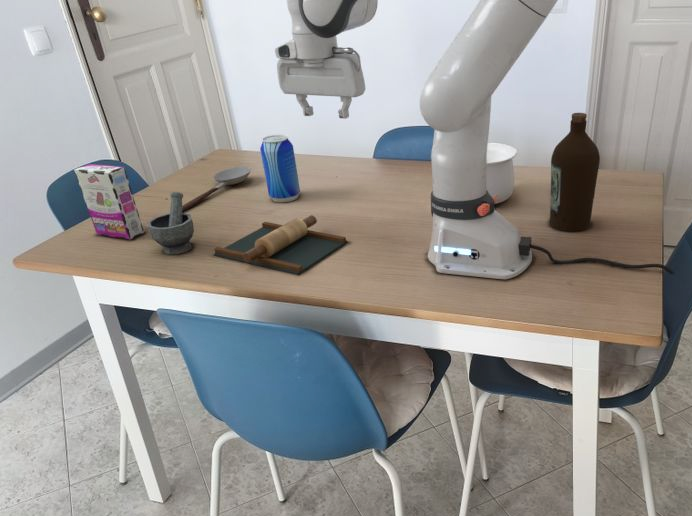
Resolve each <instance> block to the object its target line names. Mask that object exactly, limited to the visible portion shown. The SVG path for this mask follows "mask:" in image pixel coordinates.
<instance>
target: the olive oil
mask: <svg viewBox="0 0 692 516" xmlns="http://www.w3.org/2000/svg"><path fill="white" fill-rule="evenodd" d="M587 115H588V114H587V113H585V112H574V113H572V114H571V120H570V127H569V129H570V130H569V132H568V133H567V134H566V135H565V136H564V137H563V139H562V140H560V141H559V142H558V143H557V145H556V146H555V147H554V149H553V151H552V154H551V159H550V203H549V204H550V205H549V209H550V210H549V224H550V226H551V227H553V228H554V229H555V230H559V231H563V232H580V231H584V230H586V229H588V228H589V227H590V226H591V223H592V222H591V221H592V214H593V206H594V200H595V193H596V186H597V181H598V174H599V169H600V164H601V163H600V162H601V157H600V151H599V148H598V146H597V144H596V143H595V142H594V141H593V139H591V137H590V136H589V134H588V133H587V131H586V130H587V117H588V116H587Z"/></svg>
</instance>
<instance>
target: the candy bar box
mask: <svg viewBox="0 0 692 516" xmlns="http://www.w3.org/2000/svg"><path fill="white" fill-rule="evenodd" d="M73 171H74V173H75V177H76V179H77V182H78V185H79V187H80V190H81V193H82V196H83V197H82V198H83V200H84V202H85V204H86V207H87V211H88V213H89V216H90V218H91V222H92V224H93V227H94V230H95V234H96V235H97V236H101V237H109V238H116V239H122V240H130V241H131V240H133V239H136V238H138V237H139V236H142V235H143V234H144V233H145V229H144V225H143V224H142V220H141V217H140V214H139V210H138V207H137V204H136V200H135V198H134V193H133V191H132V188H131V185H130V181H129V178H128V175H127V171H126V168H125V167H124V166H117V165H116V166H115V165H106V164H105V165H104V164H94V163H89V164H85V165H83V166H80V167H77V168H75V169H73Z"/></svg>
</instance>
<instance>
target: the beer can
mask: <svg viewBox="0 0 692 516" xmlns="http://www.w3.org/2000/svg"><path fill="white" fill-rule="evenodd" d="M259 148H260V155H261V160H262V166H263V171H264V176H265V177H264V178H265V182H266V188H267V192H268V196H269V197H270V198H271V199H272V201H273V202H276V203H288V202H289V203H290V202H293V201H295V200H297V199H298V198H299V195H300V194H301V187H300V182H299V181H300V180H299V175H298V169H297V162H296V157H295V156H296V155H295V151H294V145H293V143H292V142H291V140H290V139H289V136H288V135H286V134H285V135H284V134H273V135H267V136H264V137H263V138H262V139H261V145H260V147H259Z"/></svg>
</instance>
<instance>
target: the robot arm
mask: <svg viewBox="0 0 692 516" xmlns="http://www.w3.org/2000/svg"><path fill="white" fill-rule="evenodd" d="M558 1H559V0H479V1H478V3H477V4H476V6H475V8H474V9H473V11H472V12H471V14H470V15H469V17H468V18H467V20H466V21H465V22H464V24H463V25H462V27H461V28H460V30H459V31H458V33H457V34H456V35H455V37H454V38H453V40H452V41H451V43H450V44H449V46H448V47H447V49H446V50H445V51H444V52H443V54H442V55H441V57H440V59H439V60H438V62H437V63H436V65H435V66H434V68H433V69H432V71H431V72H430V74H429V75H428V77H427V78H426V80H425V81H424V84H423V86H422V89H421V92H420V96H419V110H420V113H421V116H422V118H423V120H424V121H425V123H426V124H427V125H428V126H429V127H431V128H432V129H433V130H434V131H433V140H432V141H433V142H432V148H431V152H430V162H431V163H430V164H431V182H432V184H431V187H432V188H431V189H432V190H431V192H430V212H431V216H432V225H431V226H432V229H431V235H430V236H431V237H430V244H429V248H428V252H427V259H428V261H429V262H430V263H431V264H433V265H434V266H435V270H436V272H438V273H439V274H448V275H457V276H465V277H476V278H478V277H479V278H485V279H486V278H487V279H495V280H510V279H512V278H515V277H517V276H519V275H521V274H522V273H523V272H524V271H526V269H528V267H529V266H530V265H531V263H532V261H533V253H532V249H533V250H537V251H540V252H542V253H544V254H545V255H547V257H548V259H549V261H550V262H551V263H553V264H556V265H567V264H578V263H582V262H595V263H601V264H607V265H611V266H615V267H620V268H624V269H635V270H637V269H649V268H658V269H662V270H665V271H666V272H668V273H669V274H670V275H675V272H674V270H673V269H672V268H670V267H669V266H668V265H665V264H662V263H644V264H643V263H642V264H629V263H623V262H618V261H613V260H609V259H604V258H599V257H598V258H597V257H581V258H575V259H571V260H558V259H555V258H554V257H553V255H552V253H551V252H550V251H549V250H548V249H546V248H545V247H541V246H538V245H535V244H532V239H533V238H532V236H521V233H520V231H519V229H518V227H516V226H515V225H513V224H512V223H511V222H510V221H509V220H507V218H505V217H504V216H503V215H502V214H501V213H499V212H498V210H496V208H495V205H496V204H494V203H495V202H496V201H497V200H498V199H497V197H498V195H496V196H495V197H494V198H492V197H491V196H490V194H489V193H488V191H487V189H486V175H487V145H488V142H489V134H490V125H491V111H492V110H491V109H492V96H493V95H494V93H495V92H496V90H497V89H498V87H499V86H500V85H501V83H502V81H503V80H504V79H505V77H506V76H507V74H508V73H509V71H510V70H511V69H512V67H513V66H514V65H515V63H516V62H517V60H519V58H520V56H521V55H522V53H523V52H524V51H525V50H526V48H527V46H528V45H529V43H530V42H531V40H532V39H533V38H534V36H535V35H536V34H537V33H538V30H539V29H540V28H541V26H542V25H543V24H544V22H545V21H546V19H547V17H549V15H550V13H551V12H552V11H553V9H554V7H555V6H556V4H557V3H558ZM378 2H379V1H378V0H286V6H287V11H288V12H289V15H290V18H291V35H292V39H290V40H289V41H286V42H284V43H282V44H280V45H278V46H276V47H274V53H275V57H276V58H278V60H277V62H276V72H277V79H278V85H279V88H280V90H281V91H282V93H283V94H284V95H295V99H296V101H297V102H298V104H299V106H300V107H301V109H302V114H303V116H304V117H311V116H313V115H314V114H315V113H314V107H313V105H310V104H309V102H308V100H307V98H308V96H321V97H322V96H323V97H337V98H339V99H340V102H341V103H342V105H341V106H342V107H341V108H340V109H338V110H337V113H338V117H339V119H345V120H347V119H349V117H350V112H349V109H350V106H351V103H352V101H353V100H352V99H353V98H358V97H360V96H362V95H364V93H365V91H366V81H365V77H364V72H363V69H362V61H361V56H360V54H359V53H358V51H356V49H355V50H354V48H353V47H339V46H338V40H337V36H338V35H340V34H341V33H345V32H347V31H351V30H354V29H357V28H360V27H362V26H365V25H366V24H367V23H369V22H370V21H372V20H373V19H374V17H375V16H376V13H377V9H378V4H379V3H378Z"/></svg>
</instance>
